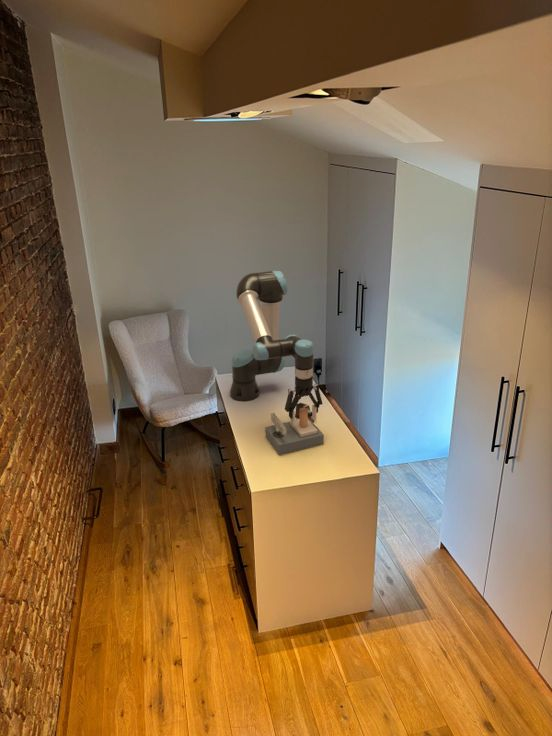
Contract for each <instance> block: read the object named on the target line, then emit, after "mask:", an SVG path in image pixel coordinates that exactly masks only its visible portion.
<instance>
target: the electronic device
mask: <svg viewBox="0 0 552 736" xmlns="http://www.w3.org/2000/svg"><path fill="white" fill-rule="evenodd" d="M300 408H307V409H308V418H309V419H310V420H311V421H312V422H313V423H314V422H315V420H314V419H313V418H312V410H311V408H310V405H309V404H307V403H303V402H298V403H297V405H296V407H295V418H296V419H299V410H300Z"/></svg>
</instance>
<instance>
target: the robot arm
mask: <svg viewBox="0 0 552 736" xmlns="http://www.w3.org/2000/svg"><path fill="white" fill-rule="evenodd" d="M236 287H237V288H236V294H235V295H236V299H237V302H238V304H239V305H240V306H241V307H242V310H243V311H244V314H245V317H246V320H247V323H248V326H249V328H250V331H251V333H252V337H253V338H254V339H253V340H254V344H253V346H252V349H248V348H245V349H241V350H238V351H236V352H234V354H232V355H231V374H232V375H231V376H232V381H231V382H232V383H231V385H230V389H229V396H230V397H231V398H232V399H233V400H235V401H239V402H248V401H252V400H255V399H257V398H258V397H259V396H260V388H259V385H258V383H257V380H256V376H259V375H267V374H275V373H278V372H280V371H283V369H284V367H285V363H286V358H285V357H291V356H292V357H293V358H294V361H295V362H294V385H295V386H294V388H292V389H291V388H289V389H288V390H287V393H288V394H287V399H286V402H285V405H284V410H285V412H287V413H288V418H290V421H291V424H292V425H293V426H294V425H295V420H296V419H295V418H296V417H295V414H296V411H295V410H296V405H297V404H298V403H299V401H300V400H301V399H302V398H303V397H309V398H310V400H311V401H312V403H313V404H312V406H311V409H312V410H311V412H312V418H313V419H314V421H317V414H318V413H319V408H320V406H321V405H323V400H322V399H323V398H322V397H321V393H320V386H319V384H318V383H314V382H313V381H314V377H313V376H314V373H313V372H314V343H313V342H312V341H311V340H309V339H302V338H301V337H299V336H298V335H297V334H289V335H287V336H286V337H285V338H282V339H279V325H280V324H279V323H280V322H279V321H280V303H282V301H283V296H285V295H287V293H288V286H287V280H286V277H285V275H284V273H283V272H282V271H280V270H271V271H261V272H250V273H248V274H246V275H245V276H243V277H242V278H241V279H240V281H238V284H237V286H236ZM259 302H260V303H261V305H260V303H259ZM313 389H314V393H315V394H314V395H315V397H314V395H313V393H312V391H313ZM315 398H316V399H315Z"/></svg>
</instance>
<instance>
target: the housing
mask: <svg viewBox="0 0 552 736" xmlns="http://www.w3.org/2000/svg"><path fill="white" fill-rule="evenodd" d="M308 420H309V421H310V422H311V423H312V425H313V426H314V427H315V428H316V429H317V430H318V433H316V434H312V435H308V436H304V437H300V435H299V434H298V433H297V432H296V431H295V430H294V428H293V427H292V426H291V425H290V421H287V422H282V423H283V425H284V426H285V427H286V434H285V435H282V433H281V434H280V435H277V434H276V426H275V424H273V425H269V426H265V429H264V430H265V431H264V432H265V438H266V439H267V440H268V443H270V445H271V446H272V447H273V449H274V450H275V451H276V453H277V454H278V455H279V456H283V455H285V454H290V453H294V452H299V451H303V450H305V449H310V448H314V447H318V446H322V445H324V441H325V438H324V437H325V435H324V433H323V432H322V431H321V430H320V429H319V428H318V426H317V425H315V423H314V421H313V422H312V421H311V420H310V419H309V418H308Z"/></svg>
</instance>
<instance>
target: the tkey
mask: <svg viewBox="0 0 552 736" xmlns="http://www.w3.org/2000/svg"><path fill="white" fill-rule="evenodd" d="M270 420H271V422H272V423H273V425H275V426H276V434H277V435H280V434H281V433H282V435H285V434H286V427H285V426H284V425H283V423H284V422H282V421H281V419H280V418H279V417H278V416H277V415H276V413H275V412H272V413H270Z"/></svg>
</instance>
